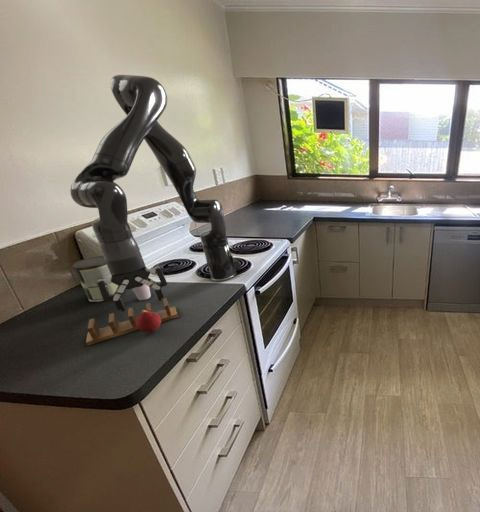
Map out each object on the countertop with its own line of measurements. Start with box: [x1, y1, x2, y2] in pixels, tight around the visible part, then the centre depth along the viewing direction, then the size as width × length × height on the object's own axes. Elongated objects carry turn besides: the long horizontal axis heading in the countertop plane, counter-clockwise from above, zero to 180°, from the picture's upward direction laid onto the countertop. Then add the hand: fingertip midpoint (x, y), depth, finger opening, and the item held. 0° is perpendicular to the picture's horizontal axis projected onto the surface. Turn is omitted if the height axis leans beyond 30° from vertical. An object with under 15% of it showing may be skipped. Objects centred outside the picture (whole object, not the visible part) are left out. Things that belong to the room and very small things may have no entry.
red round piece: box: [136, 309, 162, 334], centre depth 87 cm, size 6×6×8 cm
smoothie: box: [131, 284, 152, 301], centre depth 105 cm, size 6×6×14 cm
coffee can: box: [71, 255, 125, 303], centre depth 107 cm, size 10×10×14 cm
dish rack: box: [85, 297, 179, 346], centre depth 90 cm, size 22×6×5 cm, turn 130°
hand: (142, 304), depth 85 cm, fingers open, 8 cm apart
